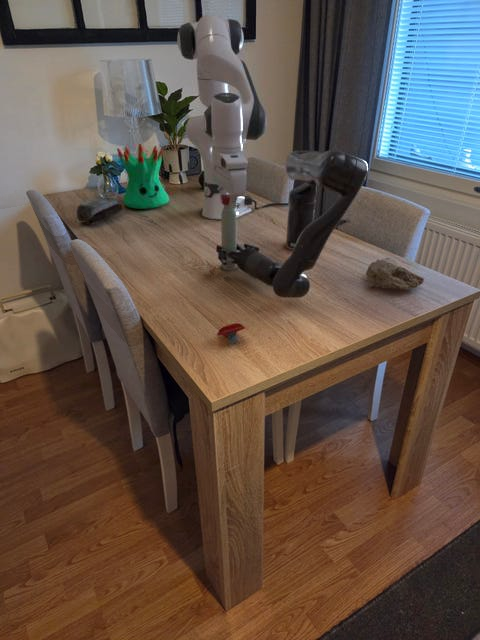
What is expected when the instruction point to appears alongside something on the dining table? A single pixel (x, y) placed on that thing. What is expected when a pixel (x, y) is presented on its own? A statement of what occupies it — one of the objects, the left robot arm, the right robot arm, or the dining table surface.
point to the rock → (98, 210)
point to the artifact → (391, 275)
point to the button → (231, 331)
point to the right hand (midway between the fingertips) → (224, 246)
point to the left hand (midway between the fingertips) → (227, 203)
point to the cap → (226, 199)
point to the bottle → (228, 233)
